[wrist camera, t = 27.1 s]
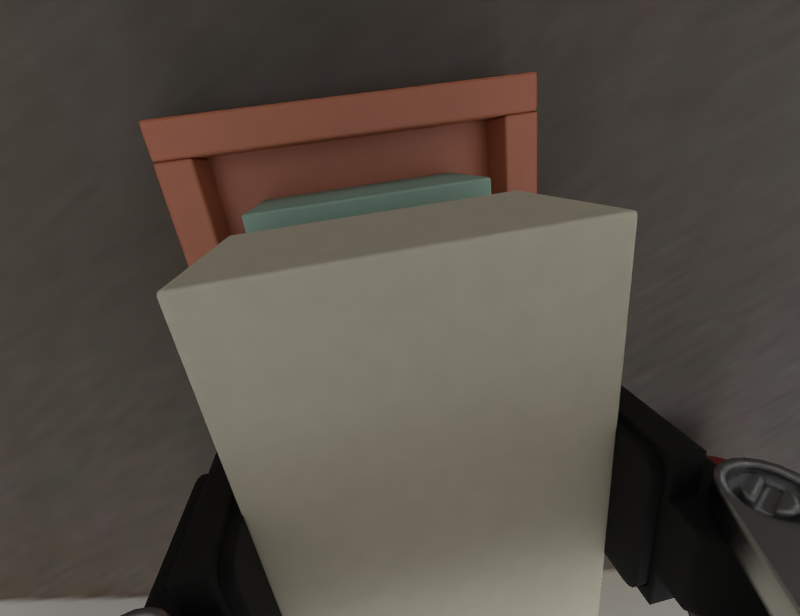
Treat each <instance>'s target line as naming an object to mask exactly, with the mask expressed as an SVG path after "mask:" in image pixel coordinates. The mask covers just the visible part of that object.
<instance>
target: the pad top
mask: <svg viewBox="0 0 800 616" xmlns="http://www.w3.org/2000/svg"><path fill="white" fill-rule="evenodd" d="M637 216H638V215H637V212H636V211H635V210H631V209H625V208H619V207H613V206H607V205H601V204H595V203H589V202H583V201H577V200H571V199H565V198H560V197H554V196H548V195H542V194H536V193H530V192H524V191H518V190H516V191H510V192H503V193H497V194H491V195H484V196H478V197H472V198H465V199H459V200H453V201H446V202H440V203H434V204H427V205H421V206H415V207H408V208H402V209H396V210H389V211H383V212H377V213H370V214H364V215H358V216H351V217H345V218H339V219H332V220H326V221H320V222H313V223H307V224H301V225H294V226H288V227H282V228H276V229H269V230H263V231H257V232H250V233H244V234H238V235H231V236H229V237H227V238H226V239H225V240H223V241H222V242H221V243H219V244H218V245H217V246H216V247H214V248H213V249H212V250H210V251H209V252H208V253H207V254H205V255H204V256H203V257H201V258H200V259H199V260H198V261H196V262H195V263H194V264H192V265H191V266H190V267H189V268H187V269H186V270H185V271H183V272H182V273H181V274H180V275H178V276H177V277H176V278H174V279H173V280H172V281H171V282H169V283H168V284H167V285H165V286H164V287H163V288H162V289H160V290H159V291H158V292H157V299H158V301H159V304H160V306H161V309H162V312H163V314H164V317H165V319H166V322H167V324H168V327H169V330H170V332H171V335H172V337H173V340H174V342H175V345H176V347H177V350H178V353H179V355H180V358H181V360H182V363H183V365H184V368H185V371H186V373H187V376H188V378H189V381H190V383H191V386H192V388H193V391H194V394H195V396H196V399H197V401H198V404H199V406H200V409H201V412H202V414H203V417H204V419H205V422H206V424H207V427H208V429H209V432H210V435H211V437H212V440H213V442H214V445H215V447H216V450H217V453H218V455H219V458H220V460H221V463H222V465H223V468H224V470H225V473H226V476H227V478H228V481H229V483H230V486H231V488H232V491H233V494H234V496H235V499H236V501H237V504H238V506H239V509H240V511H241V514H242V515H243V517H244V519H245V522H246V524H247V527H248V530H249V532H250V535H251V537H252V540H253V542H254V545H255V548H256V550H257V553H258V555H259V558H260V560H261V563H262V566H263V568H264V571H265V573H266V576H267V578H268V581H269V584H270V586H271V589H272V591H273V594H274V596H275V599H276V602H277V604H278V607H279V609H280V612H281V614H282V616H598V614H599V604H600V594H601V584H602V574H603V563H604V548H605V538H606V528H607V517H608V507H609V497H610V487H611V476H612V466H613V456H614V445H615V435H616V428H617V420H618V410H619V400H620V390H621V380H622V369H623V359H624V349H625V339H626V328H627V318H628V308H629V298H630V288H631V277H632V267H633V257H634V247H635V237H636V226H637Z"/></svg>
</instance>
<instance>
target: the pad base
mask: <svg viewBox="0 0 800 616" xmlns="http://www.w3.org/2000/svg"><path fill="white" fill-rule="evenodd" d="M484 195H491V179H490V178H489V177H483V176H475V175H466V174H458V173H450V172H448V173H442V174H435V175H428V176H421V177H415V178H408V179H401V180H394V181H388V182H381V183H374V184H368V185H361V186H354V187H347V188H341V189H334V190H327V191H320V192H314V193H307V194H300V195H294V196H287V197H280V198H273V199H267V200H264V201H263V202H261V203H260V204H258V205H257V206H255V207H254V208H252V209H251V210H249V211H248V212H246V213H245V214H243V215H242V220H243V224H244V227H245V231H246V233H250V232H257V231H263V230H269V229H276V228H282V227H288V226H294V225H301V224H307V223H313V222H320V221H326V220H332V219H339V218H345V217H351V216H358V215H364V214H370V213H377V212H383V211H389V210H396V209H402V208H408V207H415V206H421V205H427V204H434V203H440V202H446V201H453V200H459V199H465V198H472V197H478V196H484Z"/></svg>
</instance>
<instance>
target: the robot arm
mask: <svg viewBox="0 0 800 616" xmlns="http://www.w3.org/2000/svg"><path fill="white" fill-rule="evenodd" d="M706 452H707V451H705V450H704V449H703V448H702V447H700V446H699V445H698V444H696V443H695V442H694V441H693V440H691V439H690V438H689V437H687V436H686V435H685V434H684V433H682V432H681V431H680V430H678V429H677V428H676V427H674V426H673V425H672V424H671V423H669V422H668V421H667V420H665V419H664V418H663V417H662V416H660V415H659V414H658V413H656V412H655V411H654V410H653V409H651V408H650V407H649V406H647V405H646V404H645V403H643V402H642V401H641V400H640V399H638V398H637V397H636V396H634V395H633V394H632V393H631V392H629V391H628V390H627V389H625V388H624V387H623V386H622V385H621V390H620V400H619V410H618V420H617V428H616V435H615V445H614V456H613V466H612V476H611V487H610V497H609V507H608V517H607V528H606V538H605V548H604V553H605V554H606V556H607V557H608V558H609V560H610V561H611V563H612V564H613V566H614V567H615V568H616V570H617V571H618V573H619V574H620V576H621V577H622V578H623V580H624V581H625V582H626V583H627V584H628V585H629V586H631V587H636V586H637V588H638V589H639V590H640V592H641V593H642V594H643V596H644V597H645V599H646V600H647V602H648V603H649V604H654V603H657V602H661V601H664V600H668V599H671V598H675V599H676V601H677V602H678V603H679V604H680V606H681V607H682V608H683V609H684V610H686V611H688V614H689V616H800V474H799V473H797V472H794V471H792V470H790V469H787V468H785V467H783V466H781V465H778V464H774V463H771V462H767V461H764V460H759V459H752V458H730V459H728V460H725V461H722V462H720V463H719V464H718V465H716V464H715V463H714V462H713V461H711V460H710V459H709V458H708V457H706ZM121 616H282V614H281V612H280V609H279V607H278V604H277V602H276V599H275V596H274V594H273V591H272V589H271V586H270V584H269V581H268V578H267V576H266V573H265V571H264V568H263V566H262V563H261V560H260V558H259V555H258V553H257V550H256V548H255V545H254V542H253V540H252V537H251V535H250V532H249V530H248V527H247V524H246V522H245V519H244V517H243V515H242V514H241V511H240V509H239V506H238V504H237V501H236V499H235V496H234V494H233V491H232V488H231V486H230V483H229V481H228V478H227V476H226V473H225V470H224V468H223V465H222V463H221V460H220V458H219V455H218V453H216V455H215V458H214V460H213V463H212V466H211V468H210V471H209V474H204V475H202V476H200V477H199V478H198V480H197V481H196V483H195V485H194V488H193V490H192V492H191V495H190V497H189V500H188V502H187V505H186V507H185V510H184V512H183V514H182V517H181V519H180V522H179V524H178V527H177V529H176V531H175V534H174V536H173V539H172V541H171V544H170V546H169V549H168V551H167V553H166V556H165V558H164V561H163V563H162V566H161V568H160V570H159V573H158V575H157V578H156V580H155V583H154V585H153V587H152V590H151V592H150V595H149V597H148V600H147V602H146V605H145V607H144V608H140V609H135V610H132V611H131V612H128V613H126V614H123V615H121Z"/></svg>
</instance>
